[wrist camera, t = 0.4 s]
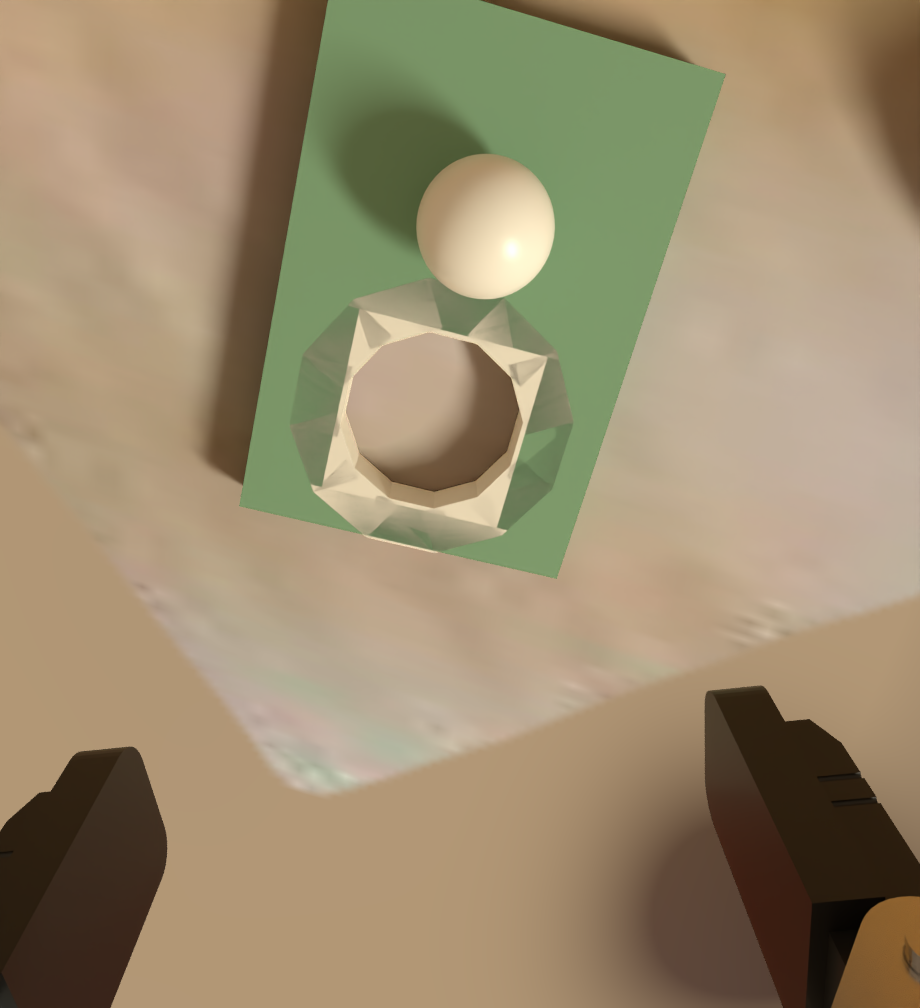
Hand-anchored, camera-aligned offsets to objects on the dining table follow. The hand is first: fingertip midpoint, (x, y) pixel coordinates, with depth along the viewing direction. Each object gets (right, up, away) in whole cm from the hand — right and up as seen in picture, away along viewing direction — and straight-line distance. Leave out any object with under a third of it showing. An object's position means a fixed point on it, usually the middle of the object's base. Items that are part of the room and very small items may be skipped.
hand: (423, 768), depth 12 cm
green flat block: (+1, +12, +23) cm, 26 cm away
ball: (+1, +13, +17) cm, 22 cm away
